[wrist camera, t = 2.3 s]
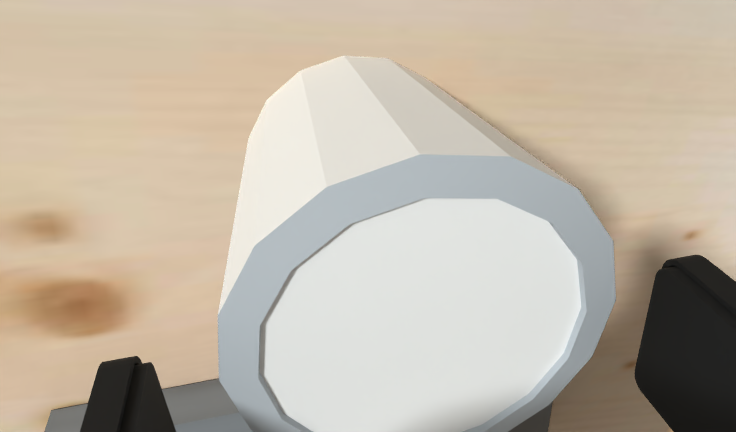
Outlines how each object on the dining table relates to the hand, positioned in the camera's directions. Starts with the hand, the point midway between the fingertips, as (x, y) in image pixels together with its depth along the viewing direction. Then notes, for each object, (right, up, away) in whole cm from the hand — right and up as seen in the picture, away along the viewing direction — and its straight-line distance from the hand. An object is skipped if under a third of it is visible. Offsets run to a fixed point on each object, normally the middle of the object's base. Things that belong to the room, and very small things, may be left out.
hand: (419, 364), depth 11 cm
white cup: (-1, +4, +5) cm, 7 cm away
